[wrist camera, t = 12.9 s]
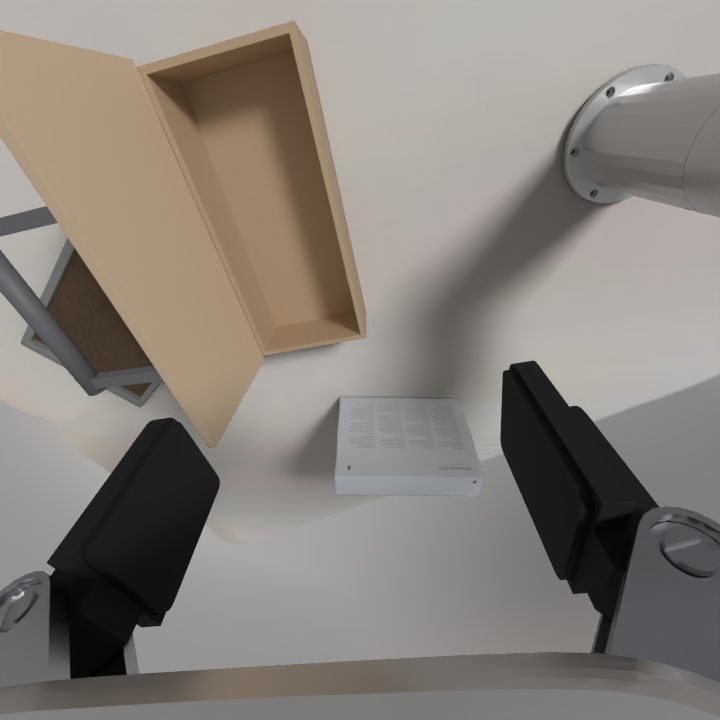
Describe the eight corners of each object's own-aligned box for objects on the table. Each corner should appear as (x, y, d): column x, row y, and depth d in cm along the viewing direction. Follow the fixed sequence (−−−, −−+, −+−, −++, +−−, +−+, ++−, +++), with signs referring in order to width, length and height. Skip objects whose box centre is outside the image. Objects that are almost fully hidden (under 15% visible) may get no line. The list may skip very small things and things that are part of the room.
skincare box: (339, 418, 62) (333, 496, 49) (339, 395, 59) (332, 472, 46) (454, 420, 63) (478, 498, 49) (460, 398, 59) (487, 474, 46)
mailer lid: (-73, 14, 16) (-200, 67, 18) (214, 449, 33) (135, 455, 35) (132, 59, 29) (45, 88, 30) (264, 359, 46) (203, 366, 47)
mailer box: (306, 40, 34) (293, 20, 27) (365, 311, 50) (366, 337, 44) (176, 77, 35) (136, 67, 29) (275, 328, 52) (263, 355, 45)
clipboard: (221, 304, 49) (134, 416, 61) (225, 300, 50) (139, 409, 62) (82, 204, 41) (14, 354, 54) (90, 201, 43) (23, 348, 55)
